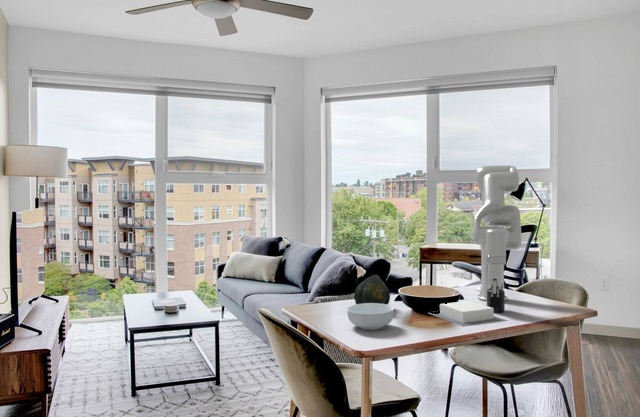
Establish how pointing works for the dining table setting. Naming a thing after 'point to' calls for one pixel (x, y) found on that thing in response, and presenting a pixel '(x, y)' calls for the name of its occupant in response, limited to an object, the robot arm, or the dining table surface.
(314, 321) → the dining table surface
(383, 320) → the cereal bowl
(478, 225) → the robot arm
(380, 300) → the squash
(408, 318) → the dining table surface
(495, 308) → the supplement bottle
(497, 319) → the mat
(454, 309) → the plinth block
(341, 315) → the dining table surface
